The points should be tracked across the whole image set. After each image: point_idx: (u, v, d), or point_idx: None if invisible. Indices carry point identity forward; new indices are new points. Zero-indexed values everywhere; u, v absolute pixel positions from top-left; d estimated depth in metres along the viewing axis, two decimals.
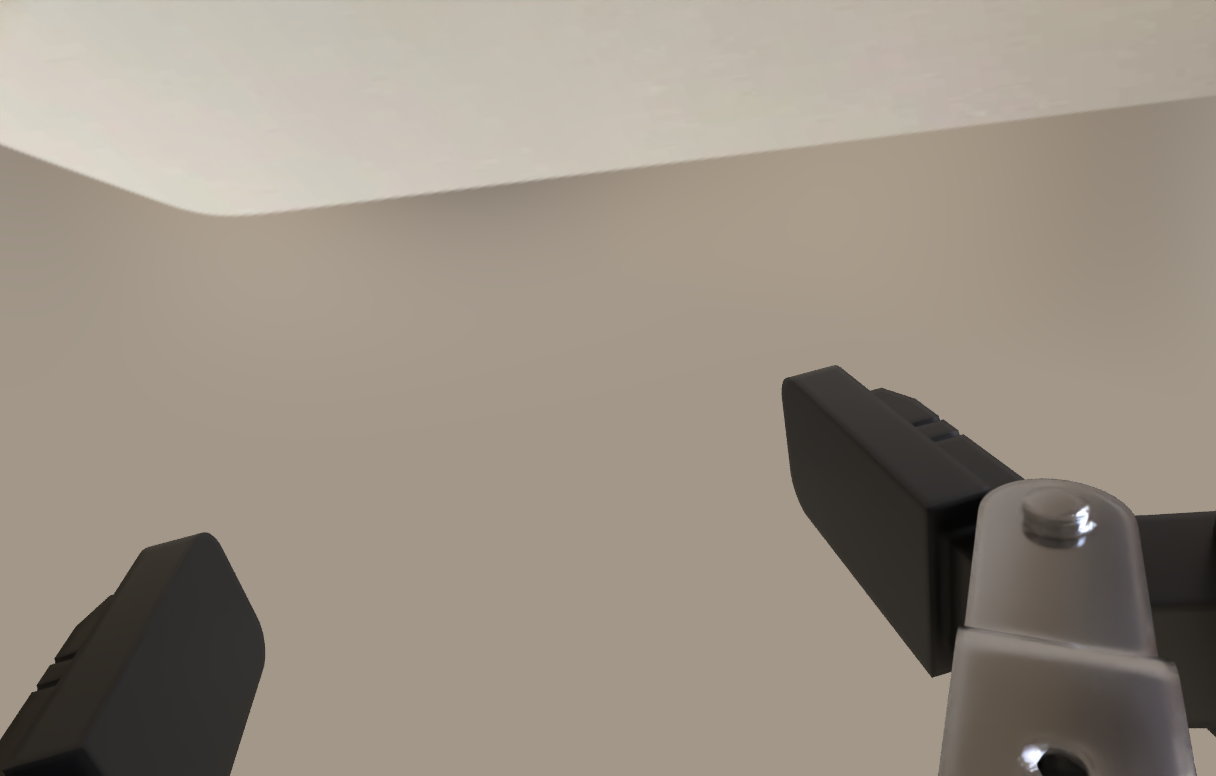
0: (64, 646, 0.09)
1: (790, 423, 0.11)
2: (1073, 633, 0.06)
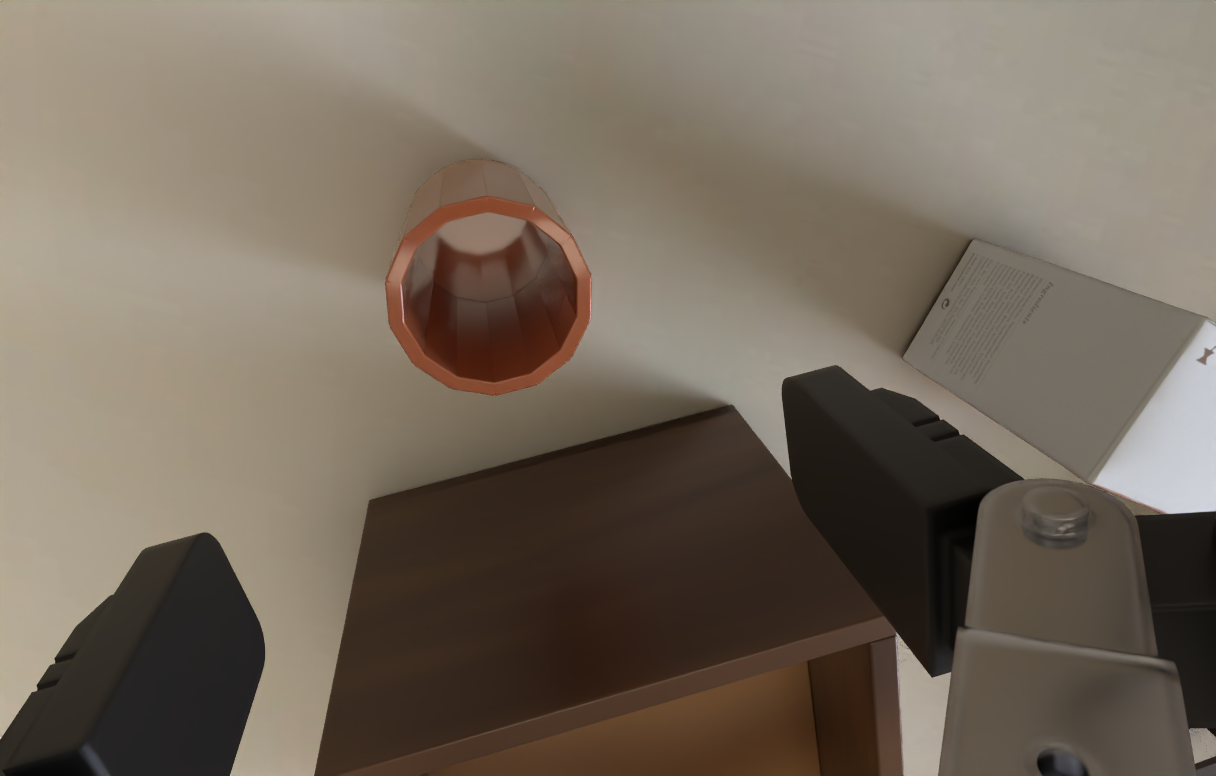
0: (64, 646, 0.09)
1: (790, 423, 0.11)
2: (1073, 633, 0.06)
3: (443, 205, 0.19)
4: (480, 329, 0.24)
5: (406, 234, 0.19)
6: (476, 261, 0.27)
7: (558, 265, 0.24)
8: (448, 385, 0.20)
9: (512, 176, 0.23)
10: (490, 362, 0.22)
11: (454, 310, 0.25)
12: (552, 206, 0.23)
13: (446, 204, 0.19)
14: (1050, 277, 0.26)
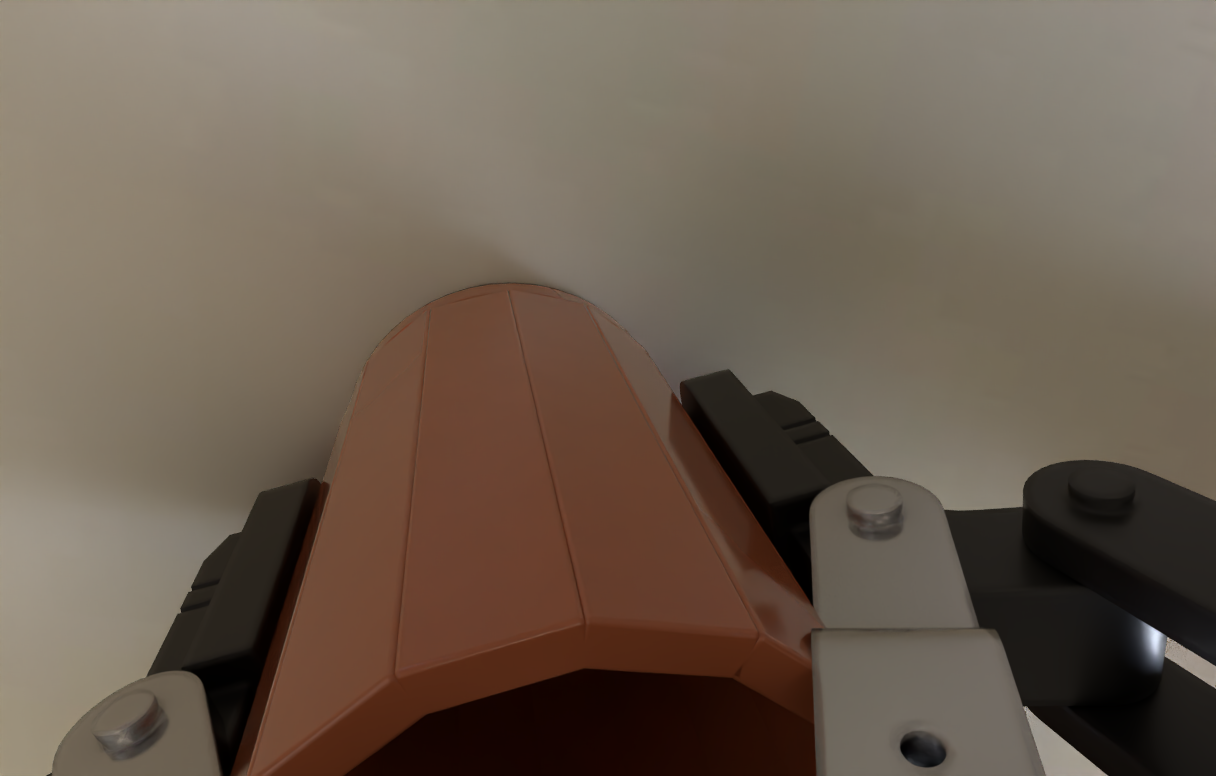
0: (198, 578, 0.10)
1: None
2: (907, 617, 0.06)
3: (407, 659, 0.05)
4: (512, 704, 0.10)
5: (261, 765, 0.05)
6: None
7: None
8: None
9: (598, 364, 0.09)
10: None
11: None
12: (707, 450, 0.09)
13: (419, 654, 0.05)
14: None
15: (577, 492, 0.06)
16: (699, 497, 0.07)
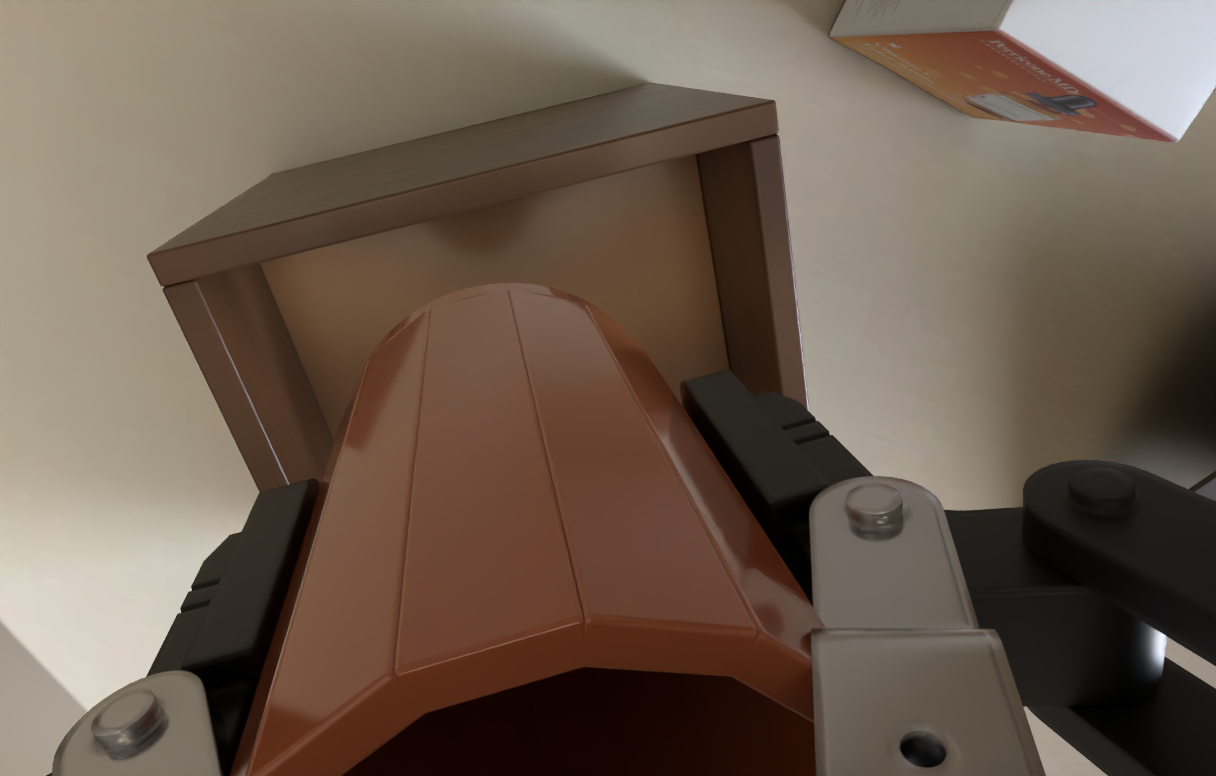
0: (197, 577, 0.10)
1: None
2: (907, 617, 0.06)
3: (407, 658, 0.05)
4: (512, 703, 0.10)
5: (261, 763, 0.05)
6: None
7: None
8: None
9: (598, 363, 0.09)
10: None
11: None
12: (707, 450, 0.09)
13: (419, 653, 0.05)
14: None
15: (577, 491, 0.06)
16: (699, 496, 0.07)
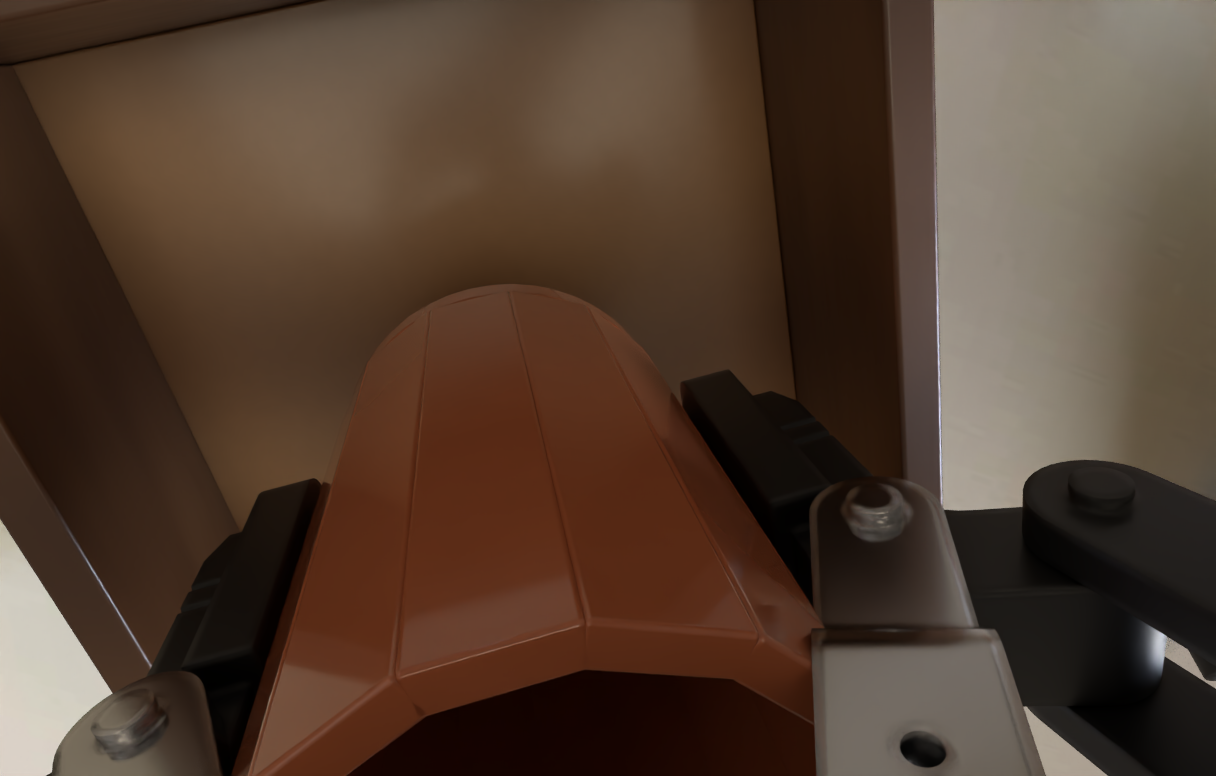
0: (197, 578, 0.10)
1: None
2: (907, 617, 0.06)
3: (408, 661, 0.05)
4: (513, 704, 0.10)
5: (262, 766, 0.05)
6: None
7: None
8: None
9: (599, 365, 0.09)
10: None
11: None
12: (708, 451, 0.09)
13: (420, 656, 0.05)
14: None
15: (578, 493, 0.06)
16: (700, 498, 0.07)
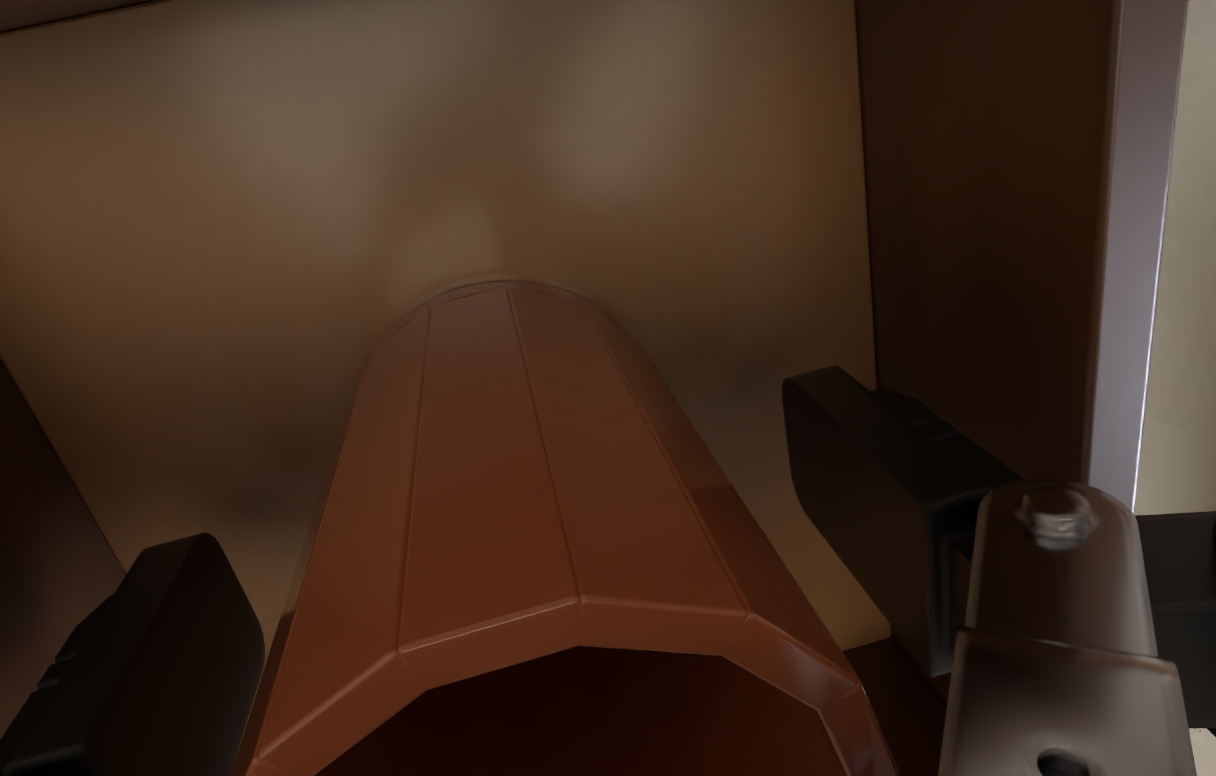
0: (64, 646, 0.09)
1: (790, 423, 0.11)
2: (1073, 634, 0.06)
3: (409, 637, 0.05)
4: (511, 693, 0.11)
5: (269, 738, 0.05)
6: None
7: None
8: None
9: (595, 359, 0.09)
10: None
11: None
12: (701, 443, 0.09)
13: (421, 632, 0.05)
14: None
15: (573, 480, 0.06)
16: (692, 486, 0.07)
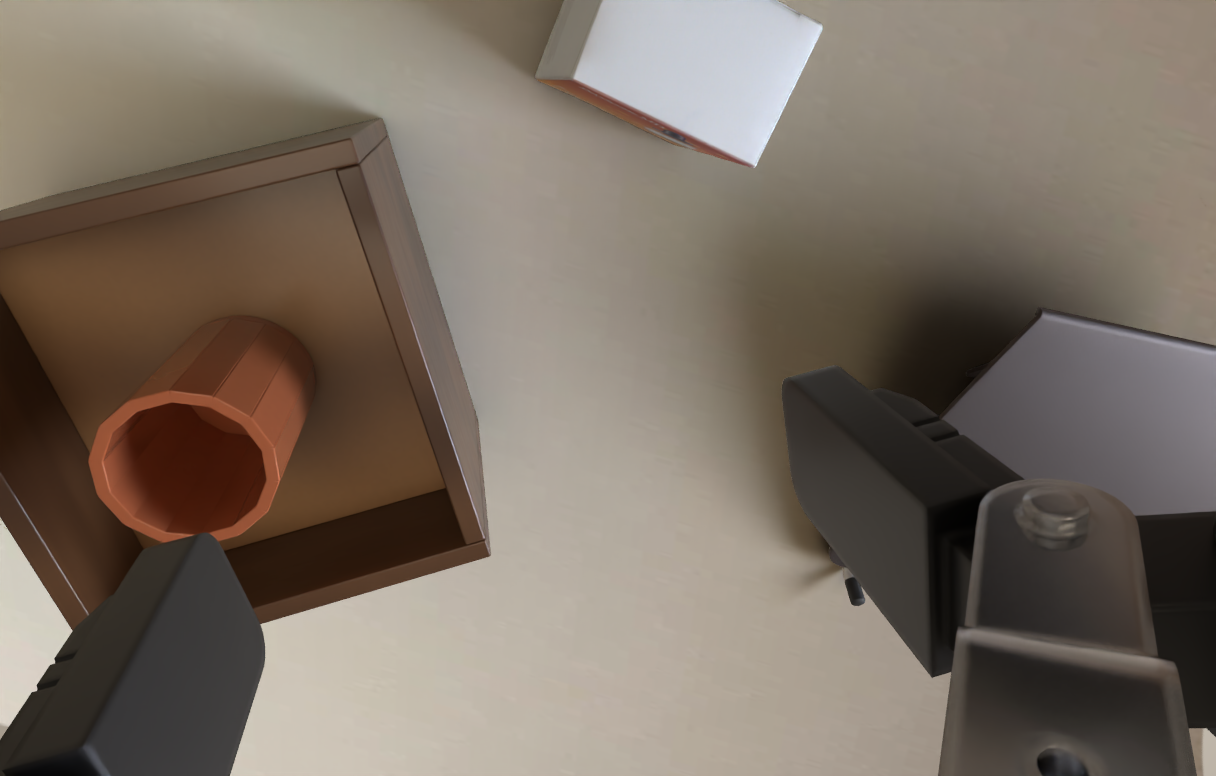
0: (64, 646, 0.09)
1: (790, 423, 0.11)
2: (1073, 633, 0.06)
3: (131, 399, 0.22)
4: (225, 471, 0.28)
5: (102, 423, 0.23)
6: None
7: None
8: (158, 539, 0.24)
9: (241, 344, 0.27)
10: (211, 511, 0.26)
11: (211, 450, 0.29)
12: (272, 371, 0.27)
13: (134, 398, 0.22)
14: None
15: (191, 372, 0.24)
16: (234, 376, 0.24)
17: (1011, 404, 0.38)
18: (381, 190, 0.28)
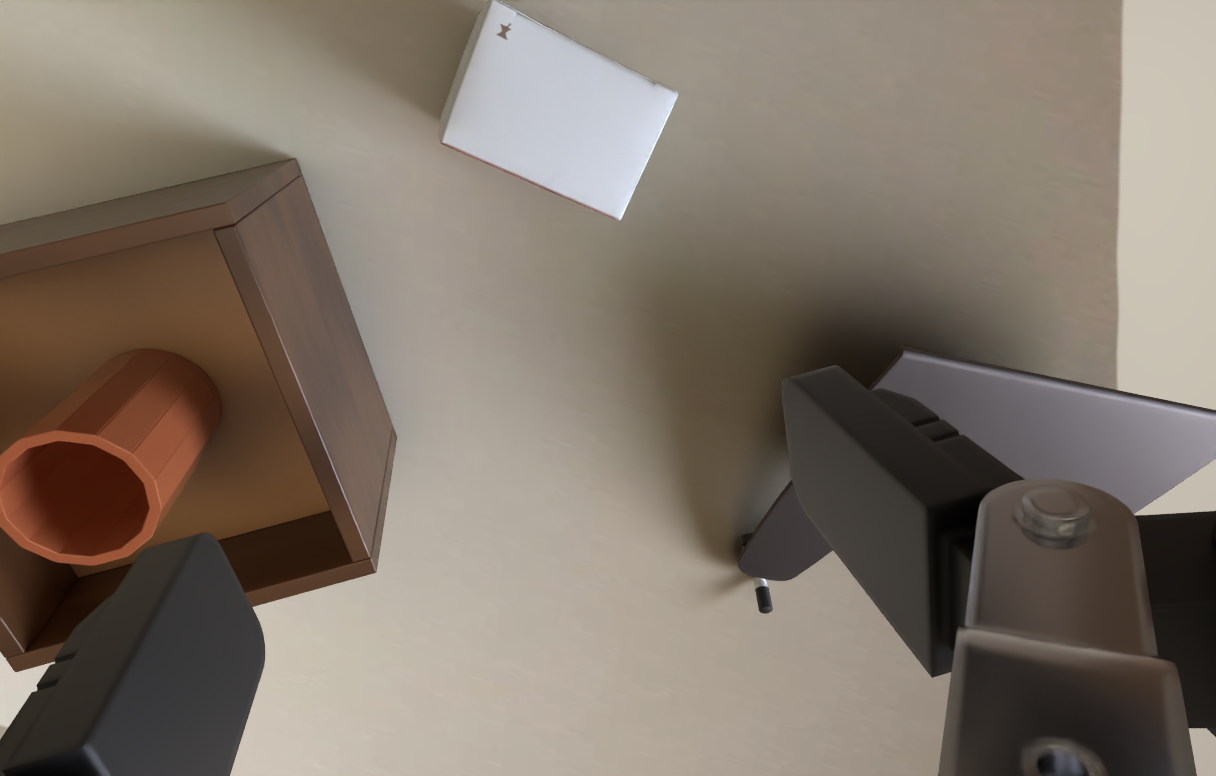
0: (64, 646, 0.09)
1: (790, 423, 0.11)
2: (1073, 633, 0.06)
3: (22, 437, 0.25)
4: (128, 493, 0.31)
5: None
6: None
7: None
8: (53, 560, 0.27)
9: (139, 380, 0.30)
10: (106, 533, 0.28)
11: (119, 473, 0.32)
12: (165, 406, 0.29)
13: (24, 436, 0.25)
14: (479, 15, 0.33)
15: (82, 411, 0.27)
16: (123, 414, 0.27)
17: None
18: (269, 240, 0.30)
